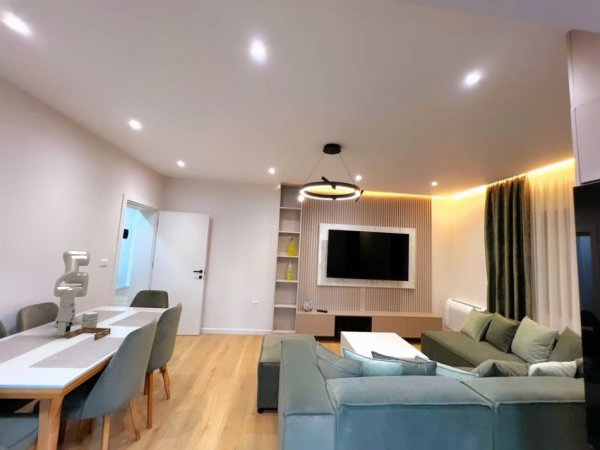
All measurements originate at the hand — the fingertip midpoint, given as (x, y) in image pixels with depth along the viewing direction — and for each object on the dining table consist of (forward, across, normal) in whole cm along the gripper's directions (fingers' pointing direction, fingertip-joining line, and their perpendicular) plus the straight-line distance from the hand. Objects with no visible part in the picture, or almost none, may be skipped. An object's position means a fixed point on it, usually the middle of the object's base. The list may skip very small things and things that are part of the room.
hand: (63, 330), depth 198 cm
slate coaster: (+4, 0, 0) cm, 4 cm away
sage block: (+2, 0, 0) cm, 2 cm away
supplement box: (+4, -4, -19) cm, 20 cm away
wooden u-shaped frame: (+4, -16, -3) cm, 17 cm away
